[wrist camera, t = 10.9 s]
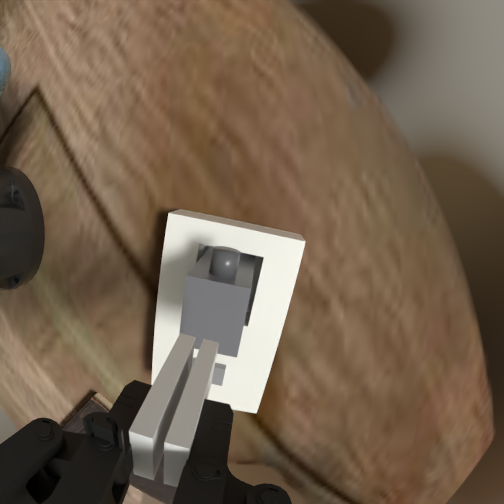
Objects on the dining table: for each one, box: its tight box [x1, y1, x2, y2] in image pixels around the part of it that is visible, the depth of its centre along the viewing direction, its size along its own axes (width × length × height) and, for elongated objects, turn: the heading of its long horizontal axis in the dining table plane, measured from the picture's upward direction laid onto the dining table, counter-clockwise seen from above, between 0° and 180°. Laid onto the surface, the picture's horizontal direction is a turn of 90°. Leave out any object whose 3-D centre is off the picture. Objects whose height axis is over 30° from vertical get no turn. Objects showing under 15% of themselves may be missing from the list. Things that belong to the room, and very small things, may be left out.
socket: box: [152, 209, 305, 413], centre depth 26 cm, size 11×18×4 cm, turn 168°
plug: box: [179, 246, 256, 358], centre depth 23 cm, size 4×7×9 cm, turn 169°
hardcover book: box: [62, 392, 177, 504], centre depth 35 cm, size 16×23×2 cm
